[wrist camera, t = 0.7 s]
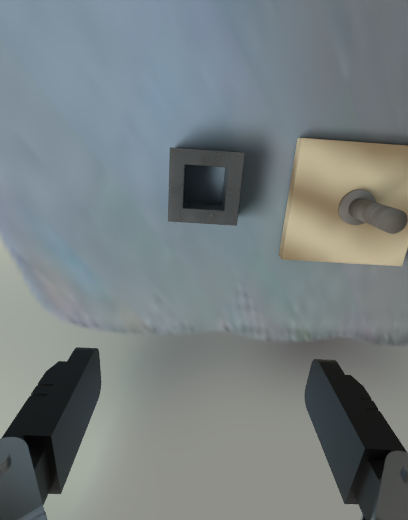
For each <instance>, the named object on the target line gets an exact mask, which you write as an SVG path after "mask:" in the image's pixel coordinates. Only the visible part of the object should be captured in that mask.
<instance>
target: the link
mask: <svg viewBox="0 0 408 520" xmlns="http://www.w3.org/2000/svg"><path fill="white" fill-rule="evenodd" d="M243 163H244V153H241V152H228V151H214V150H199V149H185V148H170V165H169V204H168V221H172V222H188V223H204V224H220V225H236V226H237V219H238V210H239V200H240V191H241V182H242V172H243ZM186 165H201V166H215V167H225V176H224V187H223V199H222V205H216V204H201V203H185V202H184V195H185V172H186Z"/></svg>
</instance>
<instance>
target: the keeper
mask: <svg viewBox="0 0 408 520" xmlns="http://www.w3.org/2000/svg"><path fill="white" fill-rule="evenodd" d="M407 248H408V146H406V145H392V144H378V143H364V142H350V141H337V140H323V139H309V138H298V140H297V146H296V152H295V159H294V165H293V171H292V177H291V183H290V190H289V196H288V202H287V208H286V214H285V221H284V227H283V233H282V239H281V245H280V252H279V256H280V257H281V259H286V260H304V261H321V262H338V263H355V264H373V265H390V266H402V264H403V261H404V258H405V255H406V251H407Z"/></svg>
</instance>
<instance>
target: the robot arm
mask: <svg viewBox="0 0 408 520" xmlns="http://www.w3.org/2000/svg"><path fill="white" fill-rule="evenodd" d="M100 389H101V372H100V359H99V350H98V349H97V348H76V349H75V350H74V351H73V353H72V354H71V356H70V358H69V359H68V361H67V362H62V361H59V362H57V363H56V364H55V365H54V366H53V367H51V368H50V369H49V370H47V371H46V373H45V374H44V375H43V377H42V378H41V380H40V381H39V383H38V386H36V387H35V389H34V390H33V392H32V393H31V396H30V397H29V398H28V400H27V401H26V402H25V404H24V405H23V407H22V409H21V410H20V411H19V413H18V415H17V416H16V417H15V419H14V420H13V422H12V423H11V425H10V426H9V428H8V430H7V431H6V432H5V434H4V435H3V437H2V438H1V439H0V520H47V516H46V513H45V511H44V508H43V505H44V502H45V500H46V498H47V495H48V494H61V492H62V490H63V487H64V484H65V482H66V479H67V477H68V474H69V472H70V469H71V467H72V464H73V462H74V459H75V457H76V454H77V452H78V449H79V446H80V444H81V441H82V439H83V436H84V434H85V431H86V428H87V426H88V424H89V421H90V419H91V416H92V414H93V411H94V408H95V406H96V403H97V401H98V398H99V394H100ZM305 404H306V408H307V410H308V413H309V415H310V418H311V421H312V423H313V426H314V428H315V431H316V433H317V435H318V438H319V440H320V443H321V446H322V448H323V450H324V453H325V456H326V458H327V460H328V463H329V466H330V468H331V471H332V473H333V476H334V478H335V481H336V483H337V486H338V488H339V491H340V493H341V496H342V498H343V501H344V503H345V504H359V506H360V509H361V511H362V513H363V514H362V517H361V520H408V453H407V451H406V450H405V448H404V447H403V446H402V444H401V443H400V441H399V439H398V438H397V436H396V435H395V433H394V432H393V430H392V429H391V427H390V426H389V424H388V423H387V421H386V420H385V419H384V417H383V415H382V414H381V412H380V411H378V408H377V406H376V405H375V403H374V402H373V401H372V400H371V398H370V396H369V394H368V393H367V391H366V390H365V388H364V387H363V386H362V385H361V384H360V383H359V382H358V381H357V380H356V379H354V378H353V377H352V376H351V375H345V374H344V372H343V371H342V369H341V368H340V366H339V364H338V363H337V362H336V361H335V360H321V359H314V360H313V361H312V364H311V368H310V372H309V377H308V380H307V385H306V389H305Z"/></svg>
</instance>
